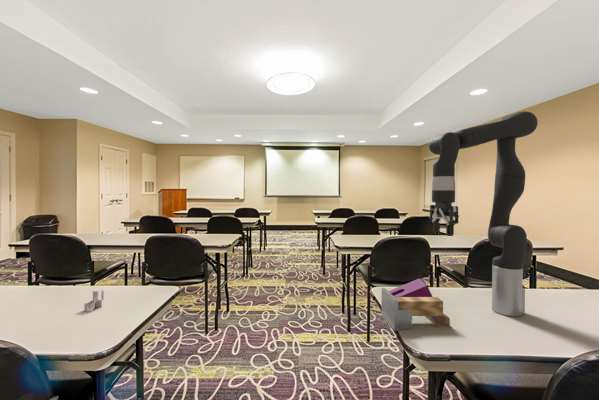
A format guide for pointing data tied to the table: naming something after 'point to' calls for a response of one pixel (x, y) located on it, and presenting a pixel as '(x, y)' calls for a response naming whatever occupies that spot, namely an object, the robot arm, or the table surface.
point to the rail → (421, 305)
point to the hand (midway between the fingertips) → (442, 234)
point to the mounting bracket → (412, 290)
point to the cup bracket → (395, 312)
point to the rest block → (440, 320)
